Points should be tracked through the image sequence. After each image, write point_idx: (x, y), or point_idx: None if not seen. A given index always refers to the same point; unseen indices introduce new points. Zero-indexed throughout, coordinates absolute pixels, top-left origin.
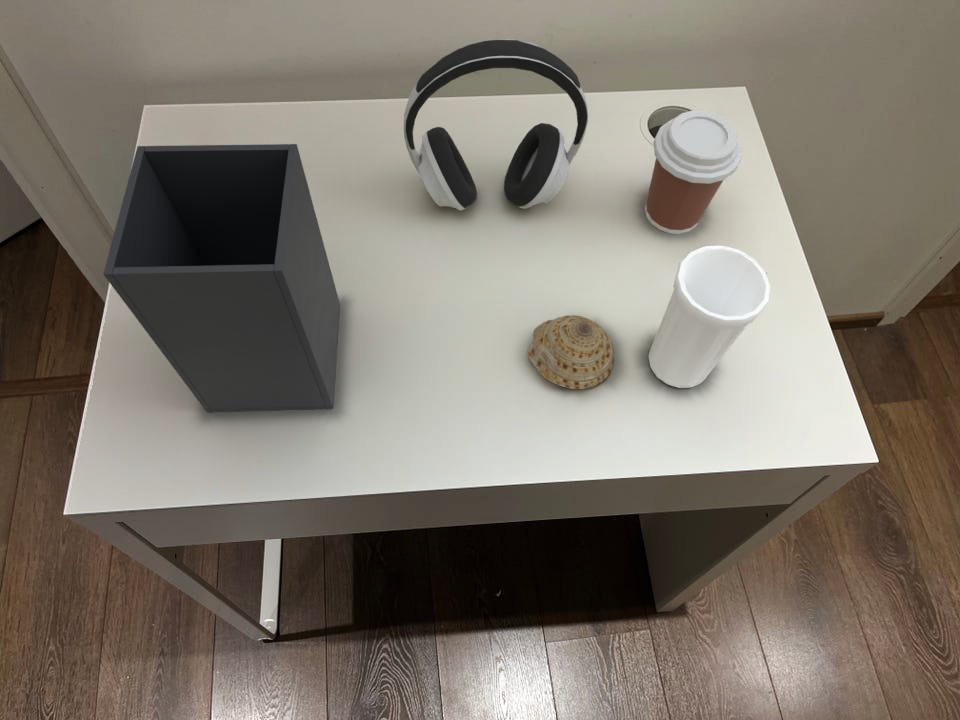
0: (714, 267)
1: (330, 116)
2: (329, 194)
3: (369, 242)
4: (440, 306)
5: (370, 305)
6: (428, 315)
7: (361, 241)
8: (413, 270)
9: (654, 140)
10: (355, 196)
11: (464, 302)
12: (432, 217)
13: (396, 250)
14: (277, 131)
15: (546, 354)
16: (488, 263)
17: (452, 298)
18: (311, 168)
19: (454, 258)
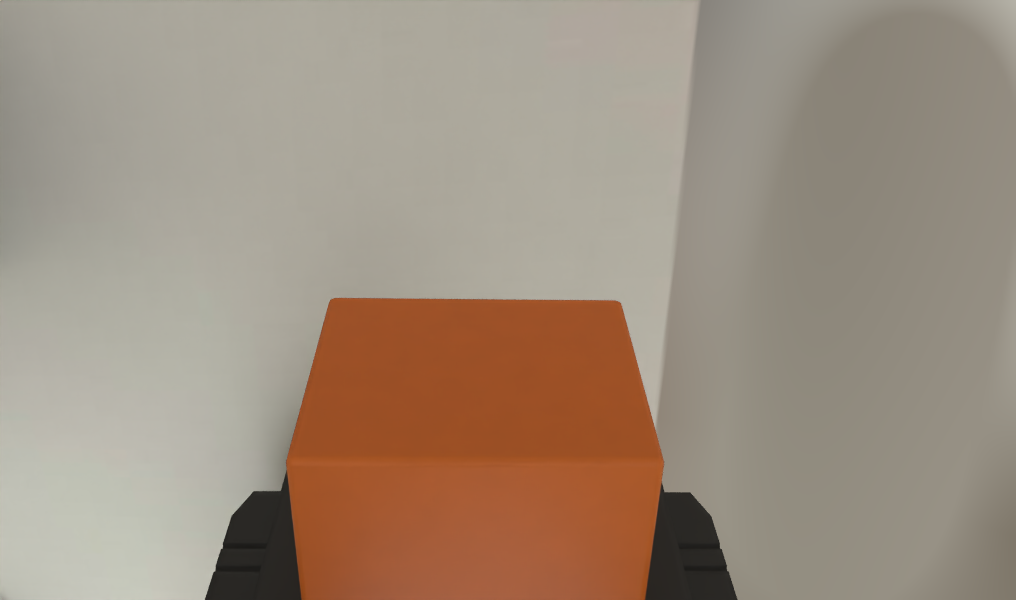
0: None
1: (646, 223)
2: (347, 233)
3: (194, 328)
4: (34, 462)
5: (6, 334)
6: (5, 441)
7: (195, 311)
8: (123, 415)
9: None
10: (343, 294)
11: (54, 502)
12: (285, 451)
13: (177, 383)
14: (599, 77)
15: None
16: (165, 544)
17: (60, 483)
18: (443, 183)
19: (170, 488)
